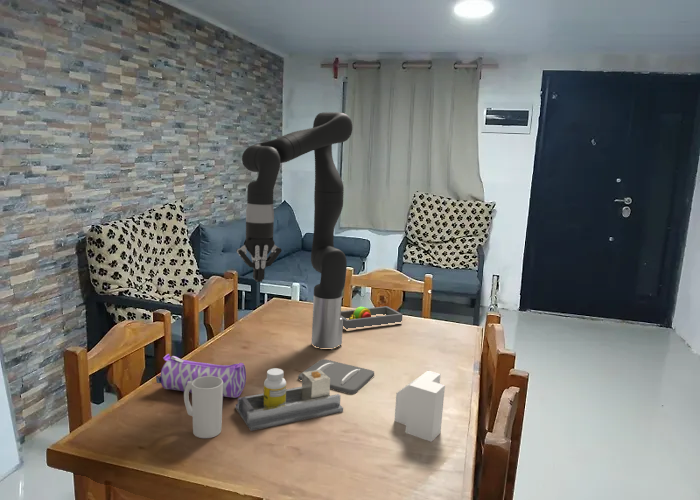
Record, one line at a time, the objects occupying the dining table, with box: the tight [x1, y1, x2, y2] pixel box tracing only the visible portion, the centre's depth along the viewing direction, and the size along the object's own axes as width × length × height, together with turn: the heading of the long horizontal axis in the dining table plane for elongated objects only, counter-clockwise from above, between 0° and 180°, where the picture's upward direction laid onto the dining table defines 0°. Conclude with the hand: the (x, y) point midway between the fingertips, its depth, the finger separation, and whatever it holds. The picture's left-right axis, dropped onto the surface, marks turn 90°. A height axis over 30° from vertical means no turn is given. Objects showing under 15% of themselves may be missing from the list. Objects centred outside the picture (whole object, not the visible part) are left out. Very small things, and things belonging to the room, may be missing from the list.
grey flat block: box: [297, 358, 375, 395], centre depth 156 cm, size 18×3×15 cm
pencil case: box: [155, 353, 247, 399], centre depth 143 cm, size 22×9×10 cm, turn 80°
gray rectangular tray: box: [341, 305, 403, 329], centre depth 205 cm, size 24×11×4 cm, turn 119°
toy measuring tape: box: [349, 305, 385, 320], centre depth 207 cm, size 6×19×7 cm, turn 131°
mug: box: [183, 376, 224, 439], centre depth 123 cm, size 10×7×12 cm, turn 64°
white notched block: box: [394, 370, 446, 442], centre depth 131 cm, size 11×11×12 cm
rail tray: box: [235, 370, 344, 432], centre depth 135 cm, size 24×12×9 cm, turn 119°
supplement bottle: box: [263, 367, 287, 408], centre depth 133 cm, size 5×5×10 cm
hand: (258, 281), depth 152 cm, fingers closed
